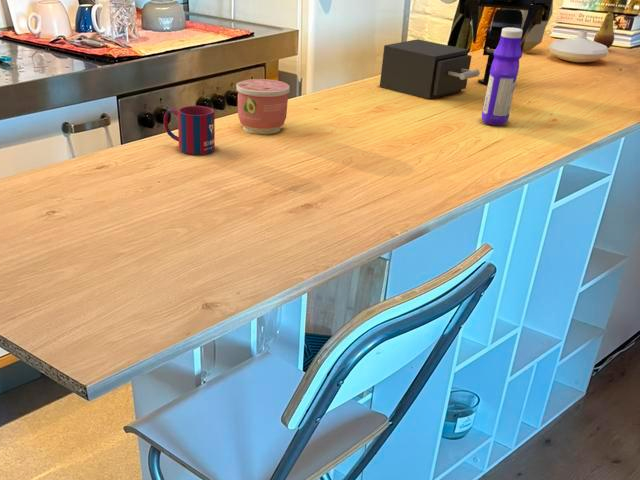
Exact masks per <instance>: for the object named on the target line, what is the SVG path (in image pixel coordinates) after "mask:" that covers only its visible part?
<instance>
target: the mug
mask: <svg viewBox="0 0 640 480" xmlns="http://www.w3.org/2000/svg"><path fill="white" fill-rule="evenodd" d="M170 113H172V114H174V115H175V116H177V128H178V129H177V131H178V132H177V133H178V135H175V133H173V132H172V131H171V129H170V127H169V123H168V121H169V120H168V118H169V114H170ZM215 115H216V113H215V109H214V108H212V107H209V106H203V105H186V106H182V107H180V108H178V109H174V108H173V109H172V108H171V109H168V110H166V111H165V113H164V115H163V126H164V129H165V130H164V131H165V133H167V135H168V136H169V137H170V138H172V140H174V141H176V142H178V150H179V152H181V153H183V154H186V155H193V156H202V155H208V154H211V153H213V152H214V151H215V146H216V144H215V143H216V141H215V136H216V135H215V134H216V133H215V127H216V126H215V124H216V123H215V121H216V120H215V117H216V116H215Z"/></svg>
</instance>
